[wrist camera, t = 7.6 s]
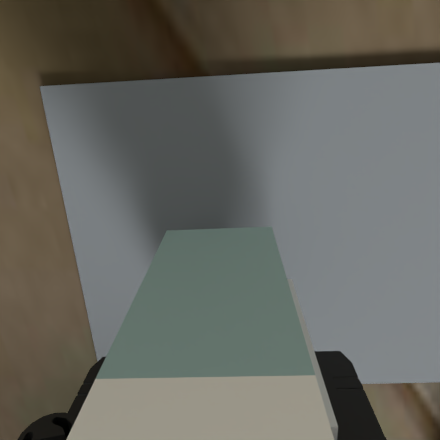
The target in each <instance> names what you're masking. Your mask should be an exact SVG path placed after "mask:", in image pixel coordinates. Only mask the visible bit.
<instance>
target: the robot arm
mask: <svg viewBox="0 0 440 440" xmlns="http://www.w3.org/2000/svg"><path fill="white" fill-rule="evenodd" d="M287 281H288V284H289V287H290V291H291V294H292V298H293V301H294V304H295V308H296V311H297V315H298V318H299V321H300V325H301V328H302V332H303V335H304V338H305V342H306V345H307V349H308V352H309V355H310V359H311V362H312V366H313V369H314V372H315V376H316V379H317V383H318V386H319V389H320V393H321V396H322V400H323V403H324V406H325V410H326V413H327V417H328V420H329V423H330V427H331V430H332V434H333V437H334V440H387V439H386V438H385V436H384V434H383V432H382V429H381V427H380V425H379V423H378V420H377V418H376V416H375V414H374V411H373V409H372V407H371V405H370V402H369V400H368V398H367V396H366V393H365V391H364V390H363V386H362V384H361V382H360V380H359V379H358V375H357V373H356V371H355V368H354V366H353V364H352V362H351V361H350V360H349V359H348V358H347V357H346V356H345V355H344V354H343V353H342V352H341V351H314V349H313V345H312V342H311V339H310V336H309V333H308V330H307V326H306V323H305V320H304V317H303V314H302V311H301V307H300V304H299V301H298V298H297V295H296V292H295V288H294V285H293V282H292V279H287ZM105 358H106V357H102V358H101V359H100V360H99V361H98V362H97V363H96V364H95V365H94V366H93V367H92V368H91V369H90V370H89V372H88V374H87V376H86V378H85V380H84V384H83V385H82V386H81V388H80V390H79V392H78V396H76V398H75V400H74V402H73V404H72V405H71V407H70V409H69V411H68V413H53V414H50V415H47V416H44V417H42V418H40V419H38V420H37V421H35V422H33V423H32V424H31V425H30V426H28V427H27V428H26V429H25V430H24V431H23V432H22V433H21V435H20V437H19V438H18V440H66V439H67V437H68V435H69V433H70V431H71V429H72V427H73V425H74V423H75V421H76V418H77V416H78V414H79V412H80V410H81V408H82V406H83V404H84V402H85V400H86V398H87V396H88V393H89V391H90V389H91V387H92V385H93V383H94V381H95V379H96V377H97V375H98V373H99V371H100V368H101V366H102V364H103V362H104V360H105Z"/></svg>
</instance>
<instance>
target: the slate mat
mask: <svg viewBox="0 0 440 440" xmlns="http://www.w3.org/2000/svg"><path fill="white" fill-rule="evenodd" d="M40 90H41V95H42V100H43V104H44V109H45V114H46V119H47V123H48V128H49V133H50V138H51V142H52V147H53V152H54V157H55V161H56V166H57V171H58V176H59V180H60V185H61V190H62V195H63V199H64V204H65V209H66V214H67V219H68V223H69V228H70V233H71V238H72V242H73V247H74V252H75V257H76V261H77V266H78V271H79V276H80V280H81V285H82V290H83V295H84V299H85V304H86V309H87V314H88V318H89V323H90V328H91V333H92V338H93V342H94V347H95V352H96V357H97V361H99V360H100V359H101V358H102V357H106V356H107V354H108V352H109V350H110V348H111V346H112V343H113V341H114V339H115V337H116V335H117V333H118V331H119V329H120V327H121V325H122V323H123V321H124V318H125V316H126V314H127V312H128V310H129V308H130V306H131V304H132V302H133V300H134V298H135V296H136V294H137V291H138V289H139V287H140V285H141V283H142V281H143V279H144V277H145V275H146V273H147V271H148V269H149V266H150V264H151V262H152V260H153V258H154V256H155V254H156V252H157V250H158V248H159V246H160V244H161V241H162V239H163V237H164V235H165V233H166V231H167V230H193V229H220V228H247V227H272V229H273V233H274V236H275V240H276V243H277V246H278V250H279V253H280V257H281V260H282V264H283V267H284V270H285V274H286V277H287V279H292V282H293V285H294V288H295V292H296V295H297V298H298V301H299V304H300V307H301V311H302V314H303V317H304V320H305V323H306V326H307V330H308V333H309V336H310V339H311V342H312V345H313V349H314V351H341V352H342V353H343V354H344V355H345V356H346V357H347V358H348V359H349V360H350V361H351V362H352V364H353V366H354V368H355V371H356V373H357V375H358V379H359V380H360V382H361V384H377V383H423V382H440V63H425V64H408V65H391V66H374V67H358V68H341V69H324V70H307V71H290V72H273V73H256V74H239V75H222V76H205V77H188V78H171V79H155V80H138V81H121V82H104V83H87V84H70V85H53V86H40Z"/></svg>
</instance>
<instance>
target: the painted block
mask: <svg viewBox="0 0 440 440" xmlns="http://www.w3.org/2000/svg"><path fill="white" fill-rule="evenodd" d="M66 440H334V437H333V434H332V430H331V427H330V423H329V420H328V417H327V413H326V410H325V406H324V403H323V400H322V396H321V393H320V389H319V386H318V383H317V379H316V376H315V372H314V369H313V366H312V362H311V359H310V355H309V352H308V349H307V345H306V342H305V338H304V335H303V332H302V328H301V325H300V321H299V318H298V315H297V311H296V308H295V304H294V301H293V298H292V294H291V291H290V287H289V284H288V281H287V277H286V274H285V270H284V267H283V264H282V260H281V257H280V253H279V250H278V246H277V243H276V240H275V236H274V233H273V229H272V227H247V228H220V229H193V230H167V231H166V233H165V235H164V237H163V239H162V241H161V244H160V246H159V248H158V250H157V252H156V254H155V256H154V258H153V260H152V262H151V264H150V266H149V269H148V271H147V273H146V275H145V277H144V279H143V281H142V283H141V285H140V287H139V289H138V291H137V294H136V296H135V298H134V300H133V302H132V304H131V306H130V308H129V310H128V312H127V314H126V316H125V318H124V321H123V323H122V325H121V327H120V329H119V331H118V333H117V335H116V337H115V339H114V341H113V343H112V346H111V348H110V350H109V352H108V354H107V356H106V358H105V360H104V362H103V364H102V366H101V368H100V371H99V373H98V375H97V377H96V379H95V381H94V383H93V385H92V387H91V389H90V391H89V393H88V396H87V398H86V400H85V402H84V404H83V406H82V408H81V410H80V412H79V414H78V416H77V418H76V421H75V423H74V425H73V427H72V429H71V431H70V433H69V435H68V437H67V439H66Z"/></svg>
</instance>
